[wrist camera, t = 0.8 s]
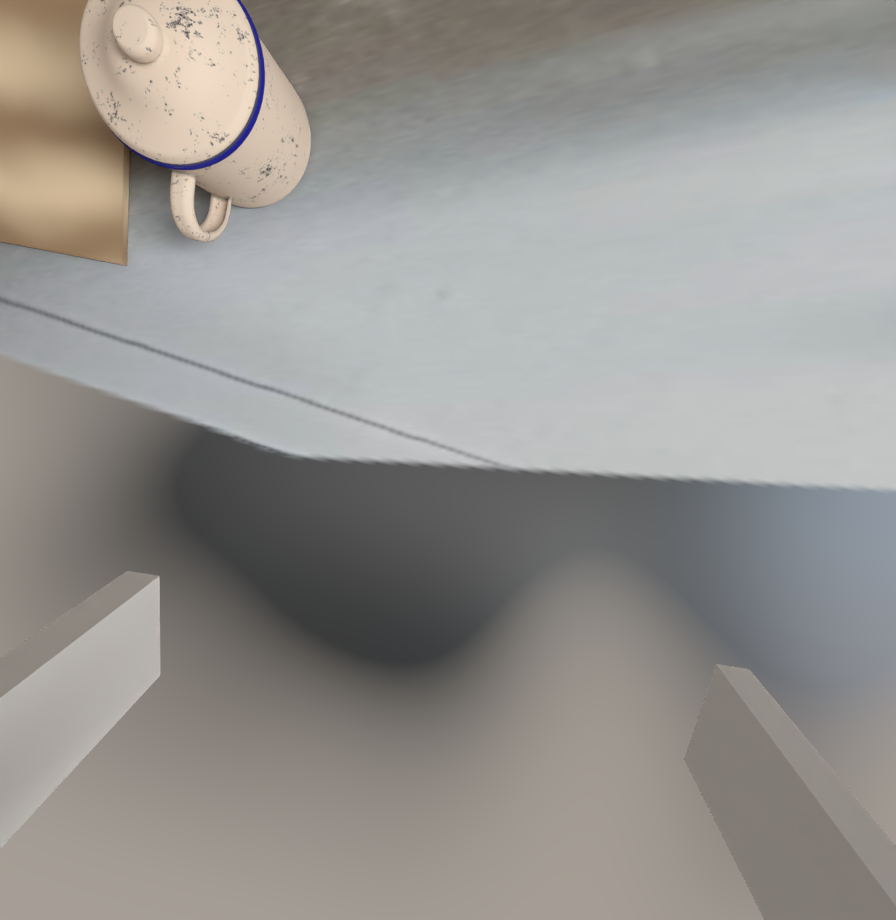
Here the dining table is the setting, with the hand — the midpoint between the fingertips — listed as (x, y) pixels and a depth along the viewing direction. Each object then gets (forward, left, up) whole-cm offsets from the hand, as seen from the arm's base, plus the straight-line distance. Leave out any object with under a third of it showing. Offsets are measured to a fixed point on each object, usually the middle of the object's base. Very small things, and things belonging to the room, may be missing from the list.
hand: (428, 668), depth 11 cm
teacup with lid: (-17, -18, -26) cm, 35 cm away
